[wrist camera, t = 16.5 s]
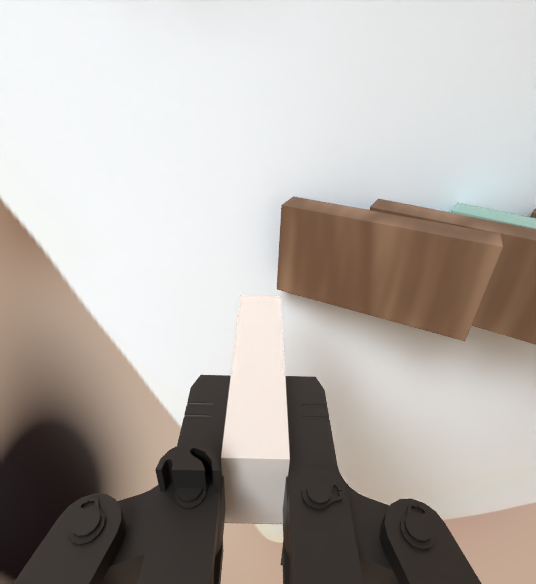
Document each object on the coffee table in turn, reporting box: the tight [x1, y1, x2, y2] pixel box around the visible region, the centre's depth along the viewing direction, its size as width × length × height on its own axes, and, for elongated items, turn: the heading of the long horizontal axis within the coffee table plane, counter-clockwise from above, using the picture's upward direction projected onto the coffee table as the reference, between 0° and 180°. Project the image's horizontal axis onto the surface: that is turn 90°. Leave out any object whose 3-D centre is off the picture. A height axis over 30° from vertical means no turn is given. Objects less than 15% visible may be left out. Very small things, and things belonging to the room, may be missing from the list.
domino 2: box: [370, 199, 536, 344], centre depth 19 cm, size 2×5×10 cm
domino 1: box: [277, 197, 503, 341], centre depth 19 cm, size 2×5×10 cm
